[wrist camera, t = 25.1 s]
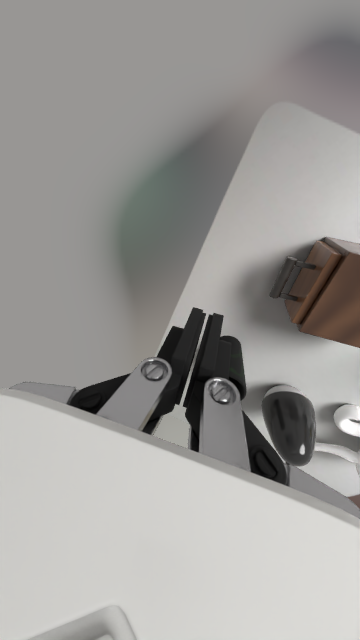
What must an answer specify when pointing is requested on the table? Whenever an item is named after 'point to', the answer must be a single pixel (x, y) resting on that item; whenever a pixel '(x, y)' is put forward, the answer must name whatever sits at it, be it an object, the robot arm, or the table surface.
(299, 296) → the drawer
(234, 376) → the cup
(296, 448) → the pump dispenser
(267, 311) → the table surface
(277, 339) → the table surface
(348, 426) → the stomach
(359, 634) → the robot arm
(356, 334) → the cabinet
